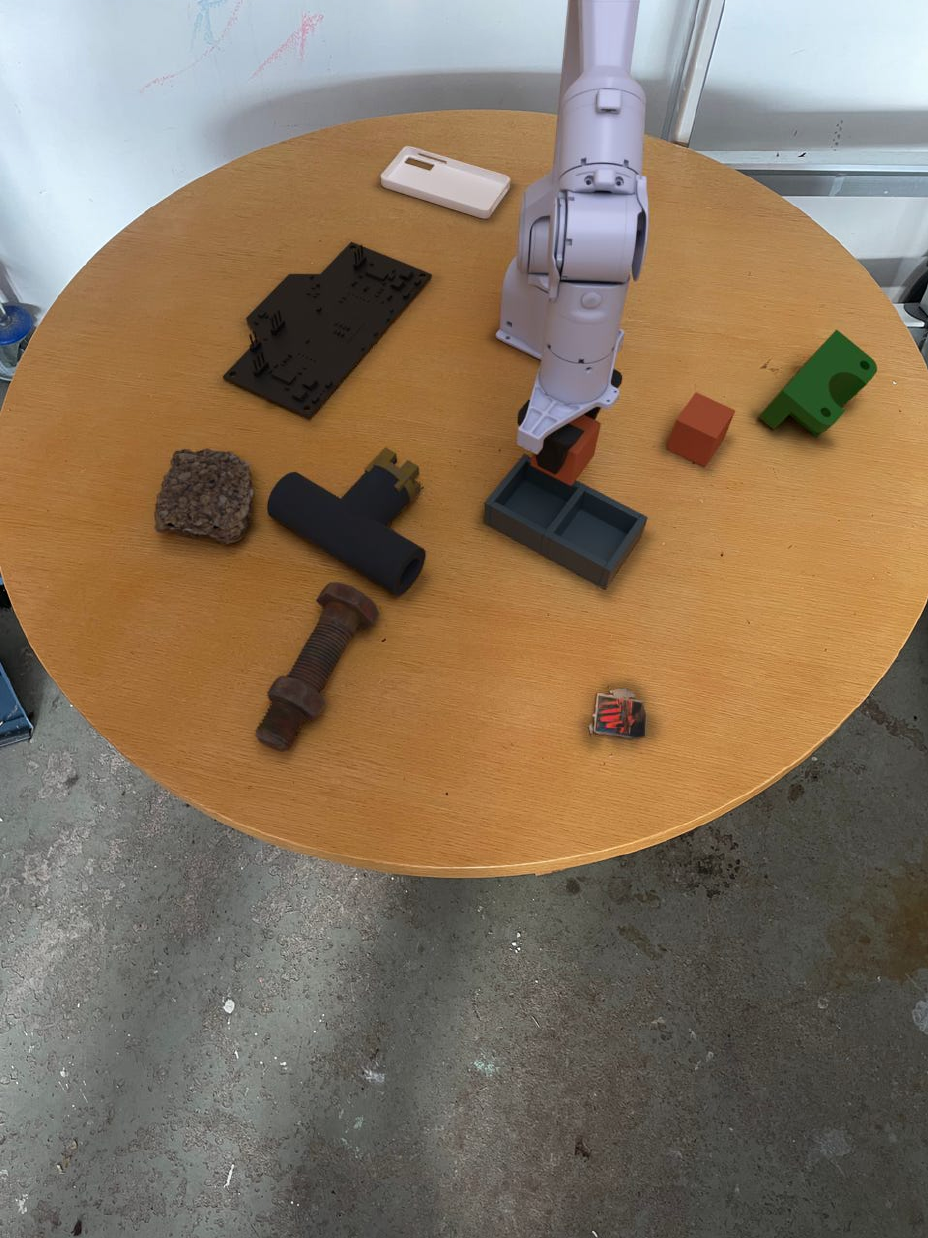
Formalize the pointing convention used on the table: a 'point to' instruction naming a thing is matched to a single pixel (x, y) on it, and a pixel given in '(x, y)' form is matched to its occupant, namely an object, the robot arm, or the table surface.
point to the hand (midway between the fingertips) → (561, 450)
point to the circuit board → (323, 327)
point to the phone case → (447, 183)
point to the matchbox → (619, 715)
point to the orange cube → (577, 451)
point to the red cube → (700, 429)
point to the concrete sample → (206, 496)
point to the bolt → (314, 664)
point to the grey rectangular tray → (565, 522)
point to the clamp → (822, 386)
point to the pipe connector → (357, 520)
